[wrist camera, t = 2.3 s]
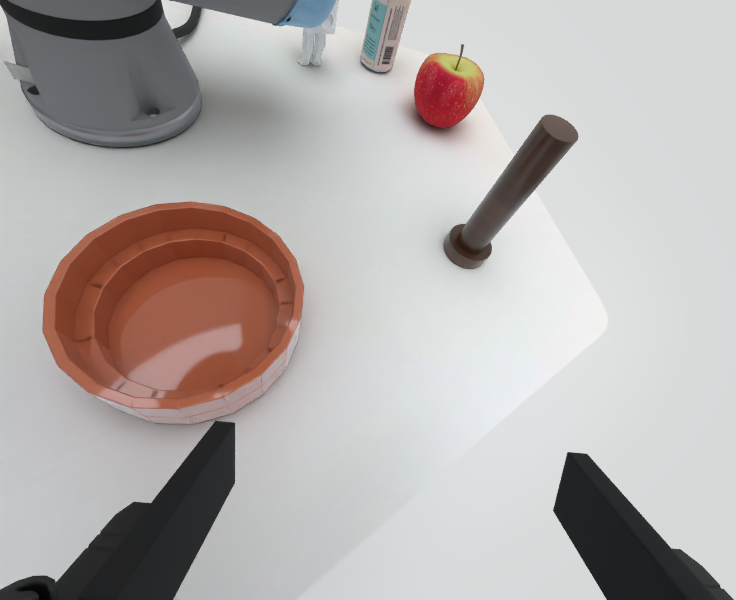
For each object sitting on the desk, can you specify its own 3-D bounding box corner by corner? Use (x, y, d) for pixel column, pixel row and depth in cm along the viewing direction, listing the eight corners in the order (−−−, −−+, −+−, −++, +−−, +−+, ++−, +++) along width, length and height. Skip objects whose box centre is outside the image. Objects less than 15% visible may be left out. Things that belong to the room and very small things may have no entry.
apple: (394, 116, 47) (421, 32, 38) (422, 92, 51) (452, 11, 43) (446, 149, 46) (486, 71, 38) (471, 121, 51) (511, 46, 42)
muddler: (441, 229, 39) (523, 100, 26) (480, 235, 40) (578, 113, 27) (446, 266, 37) (539, 143, 24) (488, 271, 38) (598, 156, 25)
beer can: (394, 63, 53) (424, -39, 43) (386, 79, 51) (415, -26, 40) (365, 51, 53) (387, -56, 43) (355, 65, 50) (376, -44, 40)
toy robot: (308, 84, 46) (318, -34, 36) (288, 48, 49) (292, -70, 38) (336, 83, 47) (353, -30, 37) (315, 49, 50) (326, -66, 40)
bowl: (123, 235, 30) (95, 187, 25) (304, 257, 33) (309, 218, 29) (48, 422, 23) (-10, 403, 18) (290, 427, 26) (293, 412, 21)
